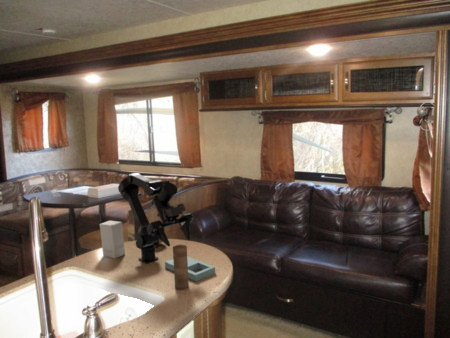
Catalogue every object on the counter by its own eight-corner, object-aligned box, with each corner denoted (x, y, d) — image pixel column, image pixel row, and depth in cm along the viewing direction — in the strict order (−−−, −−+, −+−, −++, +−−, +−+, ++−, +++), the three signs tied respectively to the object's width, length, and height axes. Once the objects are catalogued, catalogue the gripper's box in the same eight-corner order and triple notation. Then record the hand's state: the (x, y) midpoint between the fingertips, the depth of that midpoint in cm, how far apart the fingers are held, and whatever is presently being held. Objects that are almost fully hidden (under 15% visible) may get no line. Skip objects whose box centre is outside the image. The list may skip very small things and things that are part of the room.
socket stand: (165, 267, 148) (164, 261, 148) (184, 260, 155) (184, 254, 155) (195, 281, 134) (195, 275, 133) (215, 273, 141) (215, 267, 140)
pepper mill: (172, 286, 130) (169, 247, 128) (183, 282, 134) (181, 243, 132) (180, 291, 127) (178, 250, 125) (191, 286, 130) (189, 246, 128)
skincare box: (125, 254, 165) (123, 221, 163) (114, 259, 159) (111, 225, 157) (113, 251, 169) (110, 219, 167) (101, 256, 164) (99, 223, 162)
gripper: (150, 201, 131) (166, 239, 125) (191, 193, 143) (208, 227, 137) (140, 216, 138) (155, 252, 132) (180, 207, 150) (195, 240, 144)
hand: (179, 242), depth 136 cm, fingers open, 9 cm apart
